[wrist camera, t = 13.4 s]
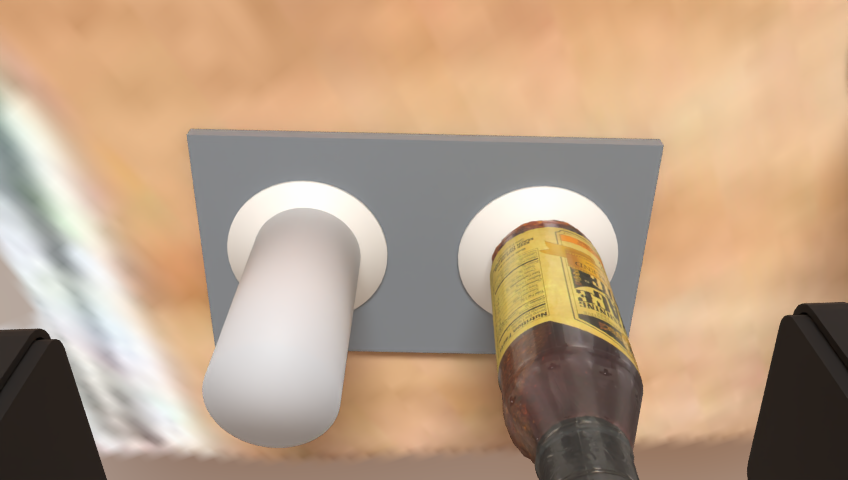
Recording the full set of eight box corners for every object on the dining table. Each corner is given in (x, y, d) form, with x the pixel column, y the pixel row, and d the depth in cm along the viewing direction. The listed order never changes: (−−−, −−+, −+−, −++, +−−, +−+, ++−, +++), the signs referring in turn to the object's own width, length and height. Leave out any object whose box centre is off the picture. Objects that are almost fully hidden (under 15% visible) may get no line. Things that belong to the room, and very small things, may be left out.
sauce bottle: (612, 283, 47) (718, 583, 30) (510, 319, 48) (556, 627, 31) (574, 190, 44) (667, 463, 27) (467, 232, 45) (490, 518, 28)
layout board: (659, 139, 43) (741, 270, 32) (622, 348, 50) (677, 517, 39) (190, 129, 43) (105, 257, 32) (218, 340, 50) (157, 506, 39)
